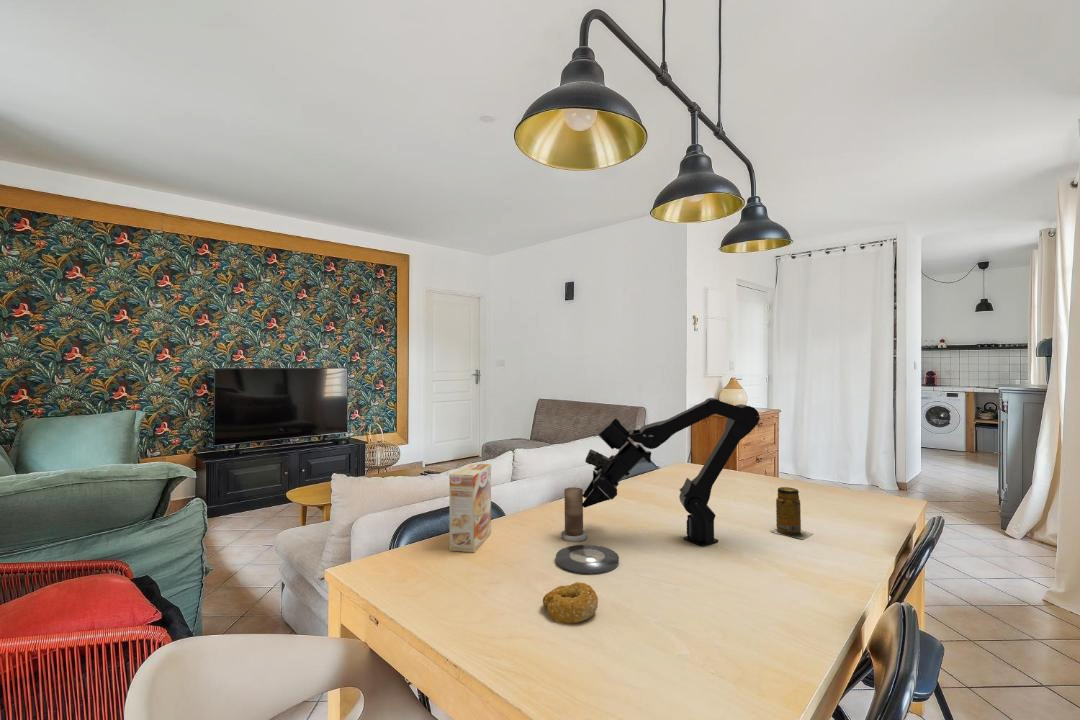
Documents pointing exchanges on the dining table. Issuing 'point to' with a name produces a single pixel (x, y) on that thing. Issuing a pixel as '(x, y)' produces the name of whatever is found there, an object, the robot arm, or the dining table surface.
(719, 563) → the dining table surface
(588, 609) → the bagel
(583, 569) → the base plate
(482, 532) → the coffeecake box
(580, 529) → the wooden peg on stand
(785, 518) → the condiment
